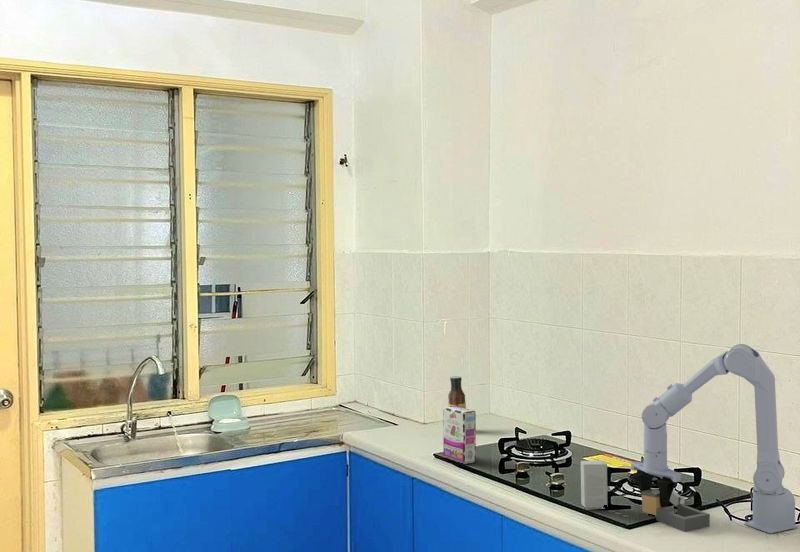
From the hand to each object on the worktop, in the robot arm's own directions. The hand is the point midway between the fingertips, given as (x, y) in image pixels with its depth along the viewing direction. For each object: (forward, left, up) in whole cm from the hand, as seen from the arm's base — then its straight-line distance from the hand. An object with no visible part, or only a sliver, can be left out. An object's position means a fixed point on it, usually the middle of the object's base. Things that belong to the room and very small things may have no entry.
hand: (655, 503), depth 227 cm
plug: (+1, +1, -2) cm, 2 cm away
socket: (-1, +9, -2) cm, 9 cm away
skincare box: (+11, -11, -2) cm, 15 cm away
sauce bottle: (-3, -106, -2) cm, 106 cm away
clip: (-7, -2, -2) cm, 7 cm away
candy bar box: (+17, -70, -2) cm, 72 cm away
